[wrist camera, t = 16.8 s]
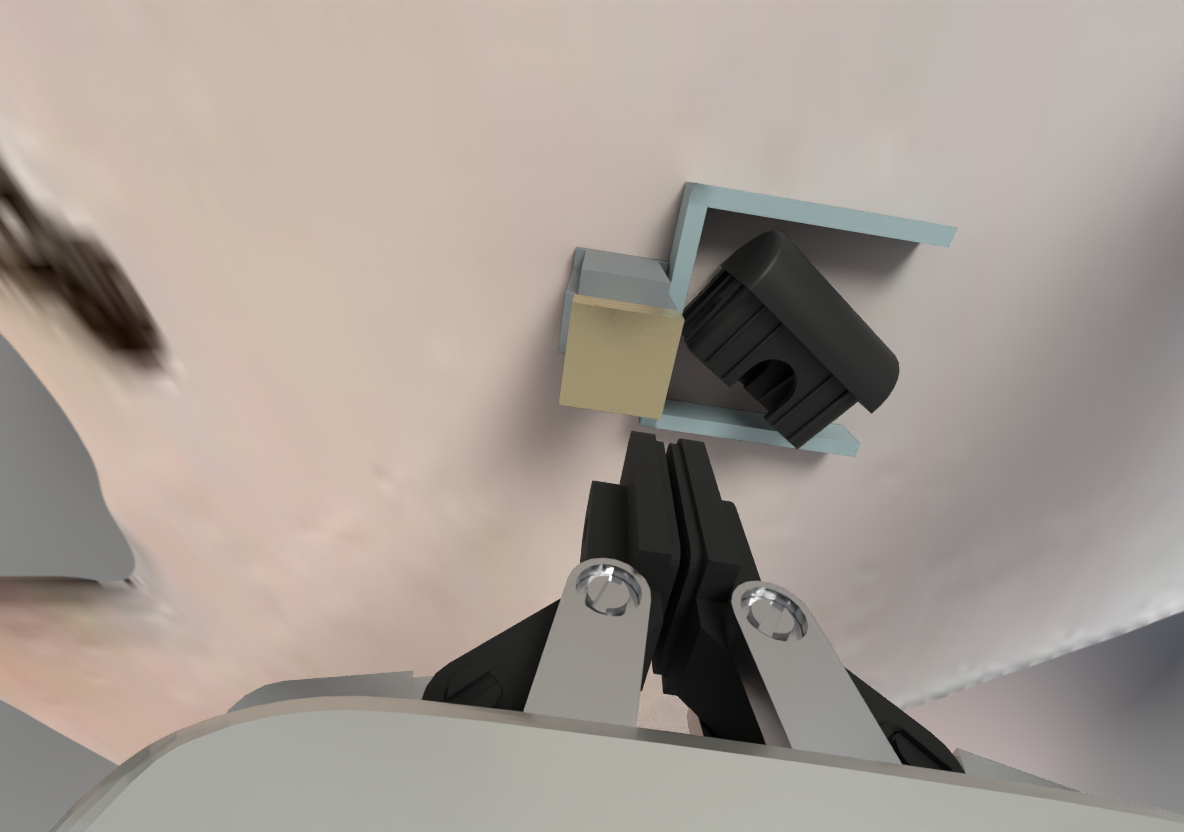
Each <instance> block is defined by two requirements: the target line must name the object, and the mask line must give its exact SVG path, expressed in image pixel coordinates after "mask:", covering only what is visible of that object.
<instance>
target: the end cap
mask: <svg viewBox="0 0 1184 832" xmlns="http://www.w3.org/2000/svg"><path fill="white" fill-rule="evenodd" d="M721 267H722V268H723V270H722V271H721V272H720V273H719V274H718V275H717V276H716V277H715V278H714V279H713V280H712V281H711V282H710V283H709V284H708V285H707V286H706V287H705V288H704V289H703V290H702V291H701V292H700V293H699V294H698V295H697V296H696V297H695V298H694V299H693V300H692V301H691V302H690V303H689V304H688V305H687V306H686V307H685V309H684V310H683V313H682V316H683V318H684V319H685V320H684V324H683V328H682V333H681V334H683V335H684V336H685V339H684V341H685V343H686V345H687V347H688V348H689V350H690V351H691V352H692V353H693V354H694V355H695V356H696V357H697V358H698V359H699V360H700V361H701V362H702V363H703V364H705V365H706V366H707V367H708V368H709V369H710V370H711V371H712V372H713V373H714V374H715V375H717V376H718V377H719V378H720V379H721V380H722V381H723V382H724V383H725V384H726V385H727V386H729V387H730V386H731V385H733V384H734V383H735V382H736V381H737V380H739V381H740V382H741V383H742V384H743V385H744V386H743V387H744V388H745V389H746V390H747V391H748V392H749V393H750V394H751V395H752V396H753V397H754V398H755V399H756V400H758V401H759V402H760V403H761V404H762V405H763V406H764V407H765V408H766V409H767V410H768V411H769V412H768V413H767V414H766V415H764V416H763V417H764V419H765V420H766V421H767V422H768V423H769V424H770V425H771V426H772V427H773V428H774V429H775V430H776V431H778V432H779V433H780V434H781V435H782V436H783V437H784V438H785V439H786V440H787V441H788V442H789V443H791V444H792V445H793V446H794V447H795V448H796V449H799V448H800V447H802V446H803V445H804V444H805V443H807V442H808V441H809V440H810V439H812V438H813V437H814V436H815V435H817V434H818V433H819V432H820V431H822V430H823V429H824V428H825V427H827V426H828V425H829V424H830V423H832V422H833V421H834V420H835V419H837V418H838V417H839V416H840V415H842V414H843V413H844V412H845V411H847V410H848V409H849V408H850V407H852V406H853V405H854V404H855V403H857V402H859V403H860V404H861V405H862V406H863V407H865V408H866V409H867V410H868V411H869V412H870V413H871V414H872V413H873V412H874V411H875V410H876V409H877V408H878V407H880V406H881V404H882V403H883V402H884V401H885V400H886V399H887V398H888V396H889V395H890V393H891V392H892V390H893V389H894V387H895V384H896V382H897V380H898V376H899V362H898V360H897V358H896V356H895V355H894V354H893V352H892V351H891V350H890V349H889V348H888V347H887V346H886V345H885V344H884V343H883V342H882V340H881V339H880V338H879V337H878V336H877V335H876V334H875V333H874V332H873V331H872V329H871V328H870V327H869V326H868V325H867V324H866V323H865V322H864V321H863V320H862V319H861V317H860V316H859V315H858V314H857V313H856V312H855V311H854V310H853V309H852V308H851V306H850V305H849V304H848V303H847V302H846V301H845V300H844V299H843V298H842V297H841V295H840V294H839V293H838V292H837V291H836V290H835V289H834V288H833V287H832V286H831V285H830V283H829V282H828V281H827V280H826V279H825V278H824V277H823V276H822V275H821V274H820V272H819V271H818V270H817V269H816V268H815V267H814V266H813V265H812V264H811V263H810V262H809V260H808V259H807V258H806V257H805V256H804V255H803V254H802V253H801V252H800V251H799V249H798V248H797V247H796V246H795V245H794V244H793V243H792V242H791V241H790V240H789V239H788V237H787V236H786V235H785V234H783V233H782V232H781V231H769V232H766V233H763V234H761V235H759V236H757V237H756V238H754V239H752V240H751V241H749V242H748V243H746V244H745V245H743V246H742V247H741V248H740V249H738V250H737V251H736V252H735V253H734V254H732V255H731V256H730V257H729V258H728V259H727V260H726V261H725V262H724V263H723V264H722V265H721Z"/></svg>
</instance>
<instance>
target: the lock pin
mask: <svg viewBox="0 0 1184 832" xmlns="http://www.w3.org/2000/svg"><path fill="white" fill-rule="evenodd" d="M684 320H685V319H684V318H683V316H682V314H681V312H680V311H679V310H673V309H666V308H660V307H654V306H647V305H641V304H635V303H628V302H622V301H615V300H609V299H603V298H596V297H590V296H584V295H577V294H574V297H573V302H572V308H571V316H570V323H569V331H568V338H567V346H566V353H565V361H564V368H563V376H562V383H561V391H560V398H559V405H564V406H571V407H578V408H585V409H592V410H598V411H605V412H612V413H619V414H626V415H632V416H639V417H646V418H653V419H660V420H661V416H662V412H663V408H664V404H665V400H666V396H667V391H668V387H669V383H670V379H671V375H672V370H673V366H674V362H675V358H676V354H677V349H678V345H679V341H680V337H681V333H682V328H683V324H684Z"/></svg>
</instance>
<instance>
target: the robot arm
mask: <svg viewBox="0 0 1184 832" xmlns="http://www.w3.org/2000/svg"><path fill="white" fill-rule="evenodd" d="M651 660H652V669H653V673H654V674H659V675H662V685H663V694H669V695H676V696H678V697H679V698H680V699H681V700H682V701H683V702H684V703H685V704H686V705H687V706H688V707H689V708H688V712H687V721H688V728H689V732H690V734H683V733H676V732H668V731H661V730H653V729H646V728H639V727H636V722H637V714H638V705H639V697H640V692H641V691H642V689H643V686H644V683H645V679H646V676H647V673H648V670H649V667H650V663H651ZM47 832H1184V816H1182V815H1178V814H1175V813H1171V812H1168V811H1164V810H1161V809H1157V808H1153V807H1150V806H1145V805H1141V804H1136V803H1131V802H1126V801H1122V800H1117V799H1112V798H1108V797H1103V796H1098V795H1094V794H1088V793H1082V792H1080V791H1077V790H1074V789H1071V788H1068V787H1065V786H1063V785H1060V784H1057V783H1054V782H1052V781H1049V780H1045V779H1043V778H1040V777H1037V776H1035V775H1032V774H1029V773H1026V772H1023V771H1021V770H1018V769H1015V768H1012V767H1009V766H1006V765H1004V764H1001V763H998V762H995V761H992V760H990V759H987V758H984V757H981V756H978V755H975V754H973V753H970V752H967V751H964V750H961V749H958V748H957V749H956V750H955V751H954V752H953V753H951V752H950V750H949V749H948V748H947V747H946V746H945V745H944V744H943V743H942V742H941V741H940V740H939V739H938V738H936V737H935V736H934V735H933V734H932V733H931V732H930V731H928V730H927V729H926V728H924V727H923V726H922V725H920V724H919V723H918V722H916V721H915V720H914V719H912V718H911V717H910V716H908V715H907V714H906V713H904V712H903V711H902V710H900V709H899V708H898V707H897V706H895V705H894V704H893V703H891V702H890V701H889V700H887V699H886V698H885V697H883V696H882V695H881V694H879V693H878V692H877V691H875V690H874V689H873V688H871V687H870V686H869V685H867V684H866V683H865V682H863V681H862V680H861V679H860V678H858V677H857V676H856V675H854V674H853V673H852V672H850V671H849V670H848V669H846V668H845V667H844V666H843V664H842V663H841V661H840V659H839V658H838V656H837V654H836V653H835V651H834V649H833V648H832V646H831V644H830V643H829V641H828V639H827V638H826V636H825V634H824V633H823V631H822V629H821V628H820V626H819V624H818V622H817V621H816V619H815V617H814V616H813V614H812V613H811V611H810V610H809V609H808V608H807V606H806V605H805V604H804V603H803V602H802V601H801V600H800V599H799V598H797V597H796V596H795V595H794V594H792V593H791V592H789V591H787V590H786V589H784V588H782V587H780V586H777V585H774V584H772V583H769V582H762V581H761V580H760V577H759V574H758V571H757V568H756V565H755V562H754V559H753V556H752V553H751V550H750V547H749V544H748V541H747V539H746V536H745V533H744V530H743V527H742V524H741V521H740V518H739V515H738V512H737V509H736V507H735V505H734V503H732V502H730V501H723V500H722V499H721V496H720V493H719V490H718V486H717V483H716V480H715V477H714V473H713V470H712V467H711V464H710V460H709V457H708V454H707V451H706V447H705V444H704V442H699V441H693V440H686V439H679V440H678V442H677V444H672V443H670V444H669V445H668V448H667V452H666V454H665V448H664V443H663V442H660V441H656V436H655V435H654V434H648V433H641V432H635V431H632V432H631V434H630V438H629V442H628V447H627V452H626V456H625V461H624V466H623V471H622V475H621V480H620V485H619V484H612V483H606V482H599V481H592V484H591V489H590V494H589V500H588V505H587V511H586V517H585V524H584V531H583V538H582V548H581V558H580V564H579V565H577V566H576V567H575V568H574V569H573V570H572V571H571V573H570V575H569V577H568V579H567V582H566V585H565V588H564V591H563V594H562V597H561V599H559V600H557V601H555V602H554V603H552V604H550V605H548V606H547V607H545V608H543V609H542V610H540V611H538V612H536V613H535V614H533V615H531V616H530V617H528V618H526V619H524V620H523V621H521V622H519V623H517V624H516V625H514V626H512V627H511V628H509V629H507V630H505V631H504V632H502V633H500V634H499V635H497V636H495V637H493V638H492V639H490V640H488V641H486V642H485V643H483V644H481V645H480V646H478V647H476V648H474V649H473V650H471V651H469V652H468V653H466V654H464V655H462V656H461V657H459V658H457V659H455V660H454V661H452V662H450V663H449V664H447V665H446V666H445V667H443V668H442V669H441V670H440V671H438V672H437V673H436V674H435V675H434V676H430V677H418V678H413V671H404V672H391V673H379V674H366V675H353V676H340V677H327V678H314V679H302V680H289V681H281V682H277V683H273V684H268V685H264V686H262V687H261V688H259V689H257V690H255V691H253V692H251V693H249V694H247V695H245V696H244V697H243V698H242V699H241V700H240V701H238V702H237V703H236V704H235V705H234V706H233V707H232V708H230V709H229V710H228V712H227V713H226V714H223V715H220V716H217V717H214V718H211V719H207V720H204V721H201V722H199V723H196V724H194V725H191V726H188V727H186V728H183V729H181V730H178V731H176V732H174V733H172V734H170V735H168V736H166V737H164V738H162V739H160V740H158V741H156V742H154V743H152V744H150V745H149V746H147V747H145V748H144V749H142V750H141V751H139V752H138V753H136V754H135V755H133V756H132V757H131V758H129V759H128V760H126V761H125V762H124V763H122V764H121V765H119V766H118V767H117V768H115V769H114V770H113V771H112V772H110V773H109V774H108V775H107V776H105V777H104V778H103V779H102V780H101V781H100V782H99V783H98V784H97V785H95V786H94V787H93V788H92V789H91V790H90V791H89V792H87V793H86V794H85V795H84V796H83V797H82V798H81V799H80V800H78V801H77V802H76V803H75V804H74V805H73V806H72V807H71V808H70V809H69V810H68V811H67V812H66V813H65V814H64V815H63V816H62V817H61V818H60V819H59V820H58V821H57V822H56V823H55V824H54V825H53V826H52V827H51V828H50V829H49V830H48V831H47Z"/></svg>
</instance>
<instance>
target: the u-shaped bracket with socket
mask: <svg viewBox="0 0 1184 832" xmlns="http://www.w3.org/2000/svg"><path fill="white" fill-rule="evenodd" d="M707 207H710V208H715V209H721V210H727V211H733V212H739V213H745V214H751V215H757V216H763V217H769V218H775V219H781V220H787V221H793V222H799V223H805V224H811V225H817V226H823V227H829V228H835V229H841V230H847V231H853V232H859V233H865V234H871V235H877V236H883V237H889V238H895V239H901V240H907V241H913V242H919V243H925V244H931V245H937V246H943V247H949V246H950V243H951V241H952V239H953V237H954V235H955V232H956V230H957V228H958V227H952V226H946V225H940V224H934V223H928V222H922V221H916V220H910V219H905V218H899V217H893V216H887V215H881V214H875V213H869V212H863V211H857V210H851V209H845V208H840V207H834V206H828V205H822V204H816V203H810V202H804V201H798V200H792V199H786V198H780V197H775V196H769V195H763V194H757V193H751V192H745V191H739V190H733V189H727V188H721V187H715V186H709V185H704V184H698V183H691V182H686V183H685V188H684V193H683V197H682V202H681V207H680V212H679V216H678V221H677V226H676V230H675V235H674V240H673V244H672V249H671V254H670V259H669V263H668V262H667V261H661V260H655V259H649V258H643V257H636V256H630V255H624V254H618V253H612V252H605V251H599V250H593V249H587V248H581V247H576V249H575V257H574V265H573V271H572V274H571V277H570V280H569V283H568V286H567V289H566V293H565V300H564V308H563V316H562V324H561V332H560V340H559V348H558V353H563V354H565V353H566V346H567V338H568V331H569V323H570V316H571V308H572V302H573V297H574V294H577V295H584V296H590V297H596V298H603V299H609V300H615V301H622V302H628V303H635V304H641V305H647V306H654V307H660V308H666V309H673V310H679V311H680V312H681V314H682V313H683V309H684V305H685V301H686V296H687V292H688V288H689V284H690V279H691V275H692V271H693V267H694V262H695V258H696V254H697V249H698V245H699V241H700V237H701V232H702V228H703V224H704V220H705V215H706V211H707ZM764 415H766V414H763V413H756V412H749V411H742V410H736V409H729V408H722V407H715V406H709V405H702V404H695V403H688V402H682V401H675V400H668V399H666V400H665V404H664V408H663V412H662V416H661V420H660V419H653V418H646V417H639V423H640V426H645V427H652V428H659V429H665V430H672V431H679V432H686V433H693V434H700V435H707V436H714V437H720V438H727V439H734V440H741V441H748V442H755V443H762V444H769V445H775V446H782V447H789V448H795V447H794V446H793V445H792V444H791V443H789V442H788V441H787V440H786V439H785V438H784V437H783V436H782V435H781V434H780V433H779V432H778V431H776V430H775V429H774V428H773V427H772V426H771V425H770V424H769V423H768V422H767V421H766V420H765V419H764V417H763V416H764ZM859 446H860V443H859V442H858V440H857V439H856V438H855V437H854V436H853V435H852V434H851V433H850V432H849V431H848V430H847V429H846V428H845V427H844V426H843V425H837V424H829V425H828V426H827V427H825V428H824V429H823V430H822V431H820V432H819V433H818V434H817V435H815V436H814V437H813V438H812V439H810V440H809V441H808V442H807V443H805V444H804V445H803V446H802V447H800V448H799V449H803V450H810V451H817V452H823V453H830V454H837V455H844V456H851V457H855V455H856V452H857V450H858V448H859Z"/></svg>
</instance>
